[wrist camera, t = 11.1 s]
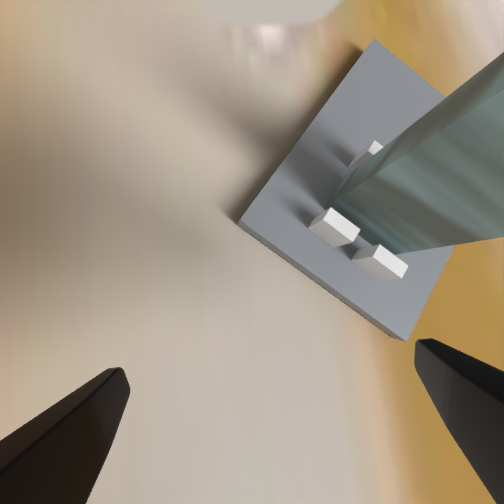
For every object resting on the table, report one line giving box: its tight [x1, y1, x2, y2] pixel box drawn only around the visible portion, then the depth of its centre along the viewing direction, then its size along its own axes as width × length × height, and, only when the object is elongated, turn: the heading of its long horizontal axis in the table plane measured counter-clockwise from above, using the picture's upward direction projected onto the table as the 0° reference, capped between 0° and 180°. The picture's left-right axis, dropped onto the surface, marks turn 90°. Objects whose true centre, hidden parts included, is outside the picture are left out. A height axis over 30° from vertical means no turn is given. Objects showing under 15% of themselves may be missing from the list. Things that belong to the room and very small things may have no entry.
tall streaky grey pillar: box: [324, 52, 504, 255], centre depth 13 cm, size 4×6×13 cm, turn 55°
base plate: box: [237, 39, 455, 342], centre depth 20 cm, size 20×15×4 cm
